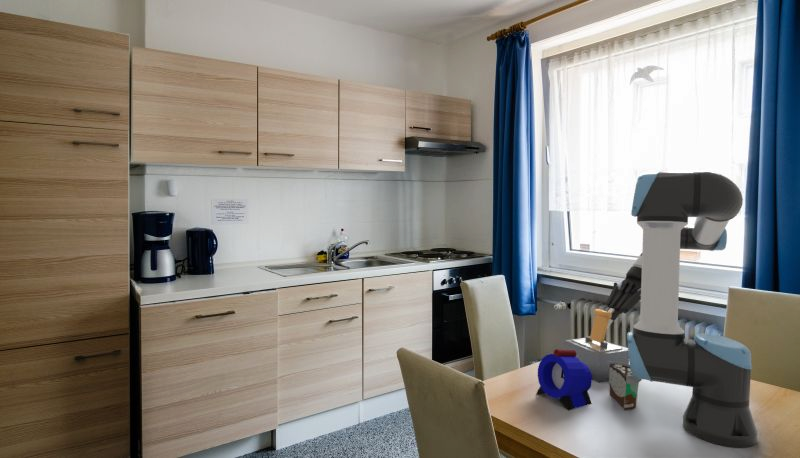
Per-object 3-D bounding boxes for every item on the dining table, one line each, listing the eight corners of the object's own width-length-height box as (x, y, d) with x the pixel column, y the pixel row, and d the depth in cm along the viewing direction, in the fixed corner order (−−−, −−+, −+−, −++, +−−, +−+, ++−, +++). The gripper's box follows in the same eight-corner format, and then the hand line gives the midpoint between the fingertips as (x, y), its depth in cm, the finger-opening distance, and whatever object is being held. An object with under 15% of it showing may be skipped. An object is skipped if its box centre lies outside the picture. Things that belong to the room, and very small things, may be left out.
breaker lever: (592, 339, 160) (599, 309, 160) (605, 344, 155) (612, 313, 155) (587, 338, 159) (594, 308, 159) (600, 343, 154) (607, 312, 154)
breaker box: (592, 361, 167) (593, 331, 166) (628, 377, 152) (629, 344, 151) (564, 365, 163) (565, 335, 162) (598, 382, 148) (599, 348, 147)
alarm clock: (534, 394, 139) (535, 344, 138) (564, 387, 145) (565, 338, 144) (566, 411, 128) (567, 357, 127) (597, 402, 134) (599, 350, 133)
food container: (649, 412, 127) (650, 376, 127) (626, 412, 127) (627, 376, 127) (628, 394, 140) (629, 360, 139) (607, 393, 140) (608, 360, 139)
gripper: (664, 282, 157) (624, 338, 153) (632, 276, 170) (595, 327, 165) (652, 268, 155) (611, 324, 151) (621, 262, 167) (583, 314, 163)
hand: (603, 325), depth 158 cm, fingers closed
